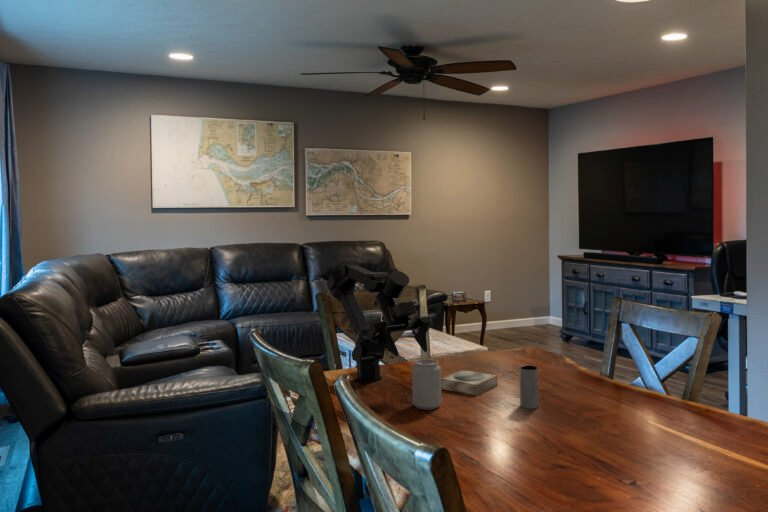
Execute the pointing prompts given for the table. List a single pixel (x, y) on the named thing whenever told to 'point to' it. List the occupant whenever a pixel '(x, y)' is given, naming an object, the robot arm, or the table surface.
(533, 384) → the grey cylinder
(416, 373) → the can
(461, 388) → the pedestal
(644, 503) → the table surface
